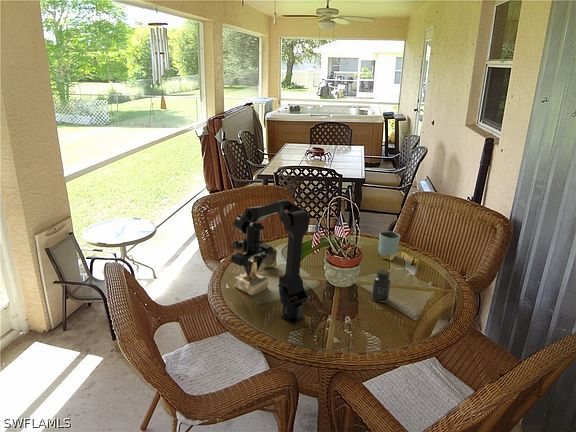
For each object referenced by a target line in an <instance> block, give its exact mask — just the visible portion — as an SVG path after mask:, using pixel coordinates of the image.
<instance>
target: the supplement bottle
mask: <svg viewBox="0 0 576 432" xmlns="http://www.w3.org/2000/svg"><path fill="white" fill-rule="evenodd" d="M391 285H392V281H391V278H390V271H389V270H386V269H378V270H377V273H376V276H374V278H373V281H372V289H371V295H372V297H371V299H372V298H373V299H374V300H376V301H386V300H388V301H389V298H390V297H389V296H390V291H391ZM373 299H372V300H373ZM374 300H373V301H374ZM376 301H375V302H376Z"/></svg>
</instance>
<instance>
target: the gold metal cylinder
mask: <svg viewBox="0 0 576 432" xmlns="http://www.w3.org/2000/svg"><path fill="white" fill-rule="evenodd" d="M251 261H252V262H253V265H252V268H251V272H250V275H249V276H248V275H247V278H248V279H255V278H256V277H257V274H258V271H257V260H255V259H254V258H251Z"/></svg>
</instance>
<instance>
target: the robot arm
mask: <svg viewBox="0 0 576 432" xmlns="http://www.w3.org/2000/svg"><path fill="white" fill-rule="evenodd" d="M287 212H288V213H287ZM274 214H278V217H279V220H280V221H281V223H283V225H284V230H285V233H286V234H287V237H288V238H287V249H286V263H285V274H283V275H281V276H279V277H278V287H277V288H278V293H279V299H280V300H279V301H280V303H281V304H282V314H281V315H280V318H281V319H283V320H285V321H288V322H289V323H291V324H292V325H295V324H297V323H298V322H300V321H301V320H303V319H304V318H305V317H306V316H305V315H304V314H303V313H304V312H303V309H304V303H306V302H308V300H309V296H308V294H307V292H306V290H305V287H304V281H303V278H302V277H301V275H300V273H301V272H300V271H301V262H302V260H301V259H302V250H303V241H304V240H303V239H304V236H305V235H306V233H307V231H308V230H309V226H310V224H311V223H310V222H311V218H310V215H309V214H308V212H307V211H306V210H305V209H303V208H302V207H300V206H298V205H296V204H294V203H292V202H291V200H289V199H286V198H285V199H280V200H277V201H275V202H272V203H268V204H266V205H257V206H251V207H250V206H249V207H246V208H245V209H244V211H243V213H239V214H237V217H236V218H235V219H234V222H233V228H234V229H235V230H237V231H239V232H240V233H243V234H245V238H244V239H242V240H240V241H239V240H235V241H232V246H231V247H232V249H233V250H236V251H241V252H243V253H244V254H243V253H241V252H236V253H234V254H232V255H231V256H230V262H231V263H233V264H234V265H235V264H236V265H237V266H239V267H243V268H244V271H245V273H246V274H247V275H248V276H249V275H250V272H251V268H252V265H253V262H252V261H251V259H252V258H253V259H255V260H257V272H259V269H260V268H261V266H262V264H263V261H264V260H265V258H267V256H266V255H265V253H264V252H265V251H267V254H268V255H270V254H272V253H273V250H274V247H273V246H272V245H269V244H267V243H263V241H264V240H263V239H261V237H262V230H265V226H264V225H263V224H262V222H259V221H263V220H265V219H267V217H268V216H271V215H274Z"/></svg>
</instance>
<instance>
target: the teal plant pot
mask: <svg viewBox="0 0 576 432" xmlns="http://www.w3.org/2000/svg"><path fill="white" fill-rule="evenodd" d="M378 236H379V238H378V239H379V240H378V249H377V252H378V251H379V253H380V254H382V255H393V254H395V253H396V254H397V252H396V251H398V248H399V242H400V240H401V235H400V234H399V233H397V232H394V231H390V230H384V231H380V232H379V234H378Z"/></svg>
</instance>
